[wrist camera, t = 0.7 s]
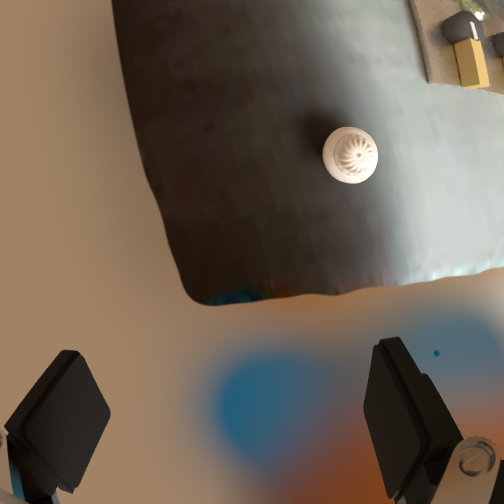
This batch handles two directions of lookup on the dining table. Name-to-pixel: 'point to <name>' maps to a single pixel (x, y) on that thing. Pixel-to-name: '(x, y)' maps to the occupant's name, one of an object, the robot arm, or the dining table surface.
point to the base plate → (443, 51)
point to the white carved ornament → (350, 155)
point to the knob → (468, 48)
